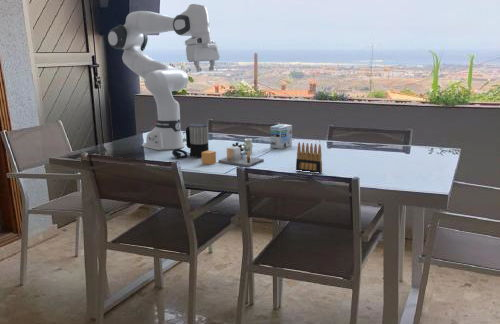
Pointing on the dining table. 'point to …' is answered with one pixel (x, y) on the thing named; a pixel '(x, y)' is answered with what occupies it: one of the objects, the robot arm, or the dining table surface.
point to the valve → (245, 146)
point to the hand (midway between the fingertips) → (205, 71)
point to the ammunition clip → (309, 158)
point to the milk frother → (195, 140)
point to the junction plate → (239, 158)
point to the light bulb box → (281, 136)
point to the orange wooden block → (208, 157)
